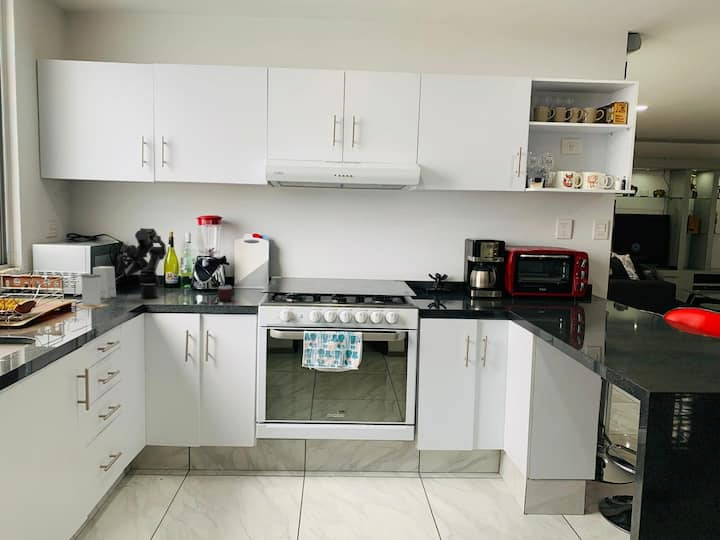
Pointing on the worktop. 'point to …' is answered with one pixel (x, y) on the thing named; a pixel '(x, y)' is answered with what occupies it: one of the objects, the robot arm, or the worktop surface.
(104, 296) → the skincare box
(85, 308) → the oak board
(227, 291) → the mate gourd
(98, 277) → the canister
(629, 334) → the worktop surface
